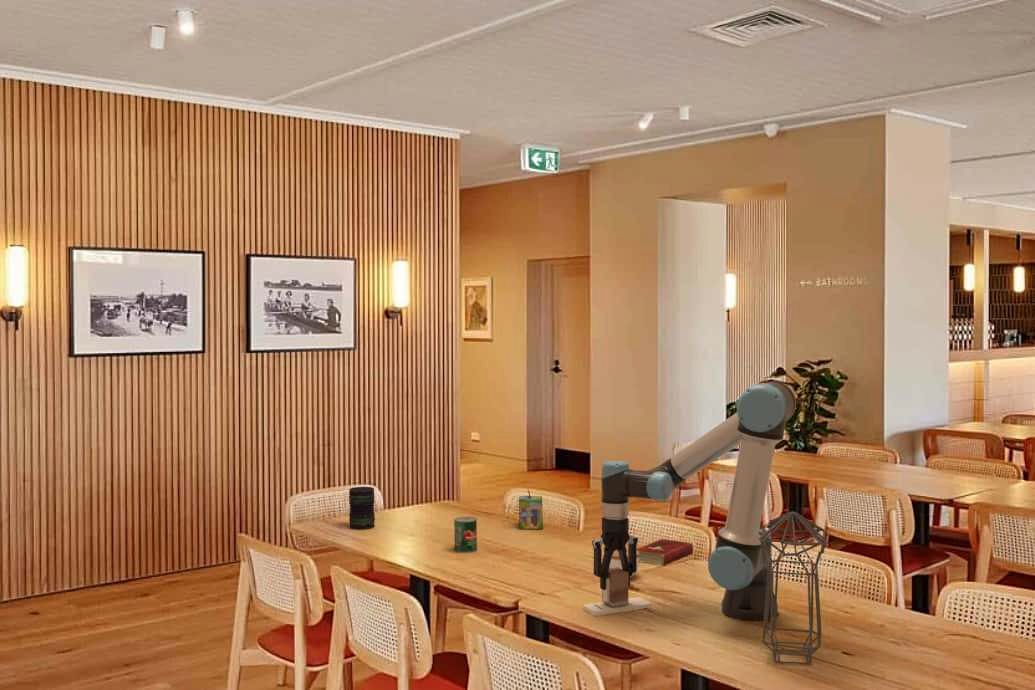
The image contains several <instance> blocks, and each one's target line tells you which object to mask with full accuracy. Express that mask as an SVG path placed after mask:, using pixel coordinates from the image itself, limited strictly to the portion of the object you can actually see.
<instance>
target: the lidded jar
mask: <svg viewBox="0 0 1035 690" xmlns="http://www.w3.org/2000/svg"><path fill="white" fill-rule="evenodd" d="M626 550H627V552H626V554H627V558H628V562H629V555H628V547H626ZM636 556H637V571H638V570H639V567H640V562H639V556H640V552H639V551H637V550H636ZM616 567H618V568H620V569H622V565H621V561H620V557H619V553H618V551H617V550H616V551H614V553H613V555H612V557H611V562H610V566H609V568H616ZM622 570H623V569H622ZM637 571H636V573H637ZM636 573H632V576H635V575H636ZM632 576H631V577H632ZM631 577H630V579H632V578H633V577H632V578H631Z"/></svg>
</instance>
